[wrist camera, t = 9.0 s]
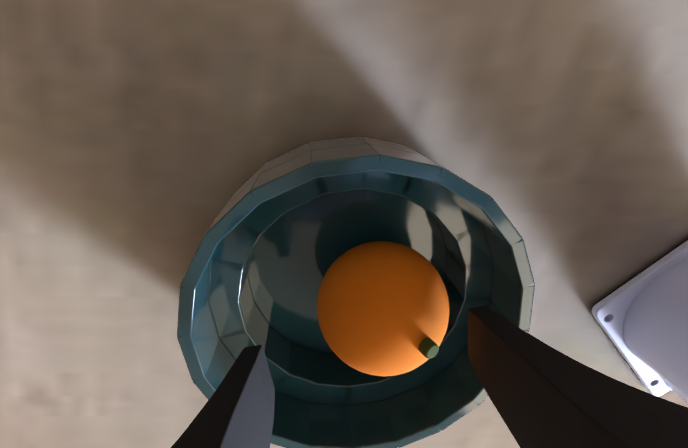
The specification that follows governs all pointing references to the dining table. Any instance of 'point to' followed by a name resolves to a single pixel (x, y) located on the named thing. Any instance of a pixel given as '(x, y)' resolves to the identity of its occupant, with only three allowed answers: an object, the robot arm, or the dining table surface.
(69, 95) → the dining table surface
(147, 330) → the dining table surface
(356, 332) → the mandarin
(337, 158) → the bowl
